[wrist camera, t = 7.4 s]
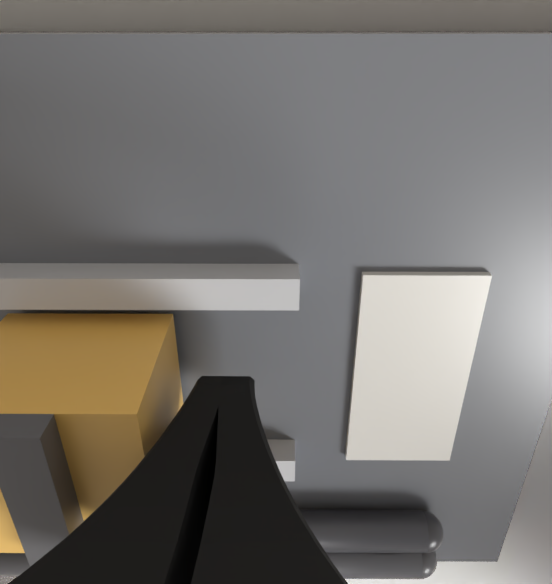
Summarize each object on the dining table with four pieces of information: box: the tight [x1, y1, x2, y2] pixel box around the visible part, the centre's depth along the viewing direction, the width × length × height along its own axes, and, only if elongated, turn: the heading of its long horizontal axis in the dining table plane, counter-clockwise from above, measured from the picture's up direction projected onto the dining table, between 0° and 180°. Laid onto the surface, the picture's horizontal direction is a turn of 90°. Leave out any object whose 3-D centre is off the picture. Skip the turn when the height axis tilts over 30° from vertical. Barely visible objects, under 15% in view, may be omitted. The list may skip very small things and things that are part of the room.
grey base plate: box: [0, 32, 552, 579], centre depth 13 cm, size 28×16×3 cm, turn 90°
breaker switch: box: [0, 313, 183, 566], centre depth 11 cm, size 4×4×4 cm
